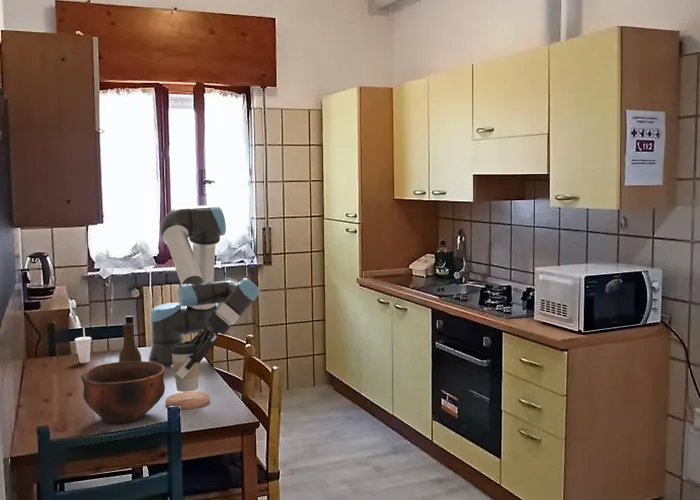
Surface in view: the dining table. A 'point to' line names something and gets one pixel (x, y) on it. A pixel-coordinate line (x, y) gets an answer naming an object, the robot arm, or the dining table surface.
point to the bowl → (123, 389)
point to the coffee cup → (179, 358)
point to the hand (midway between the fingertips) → (176, 372)
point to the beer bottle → (129, 345)
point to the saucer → (188, 400)
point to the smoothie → (83, 348)
